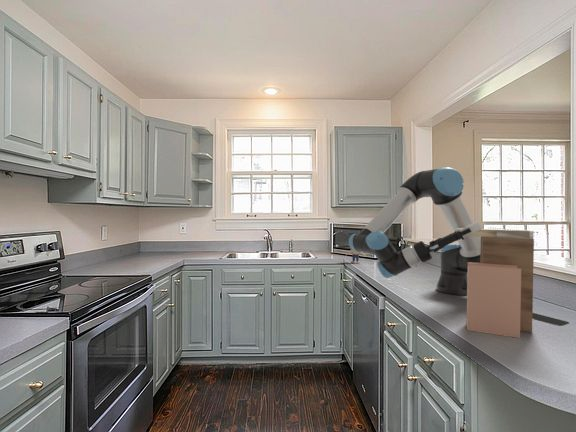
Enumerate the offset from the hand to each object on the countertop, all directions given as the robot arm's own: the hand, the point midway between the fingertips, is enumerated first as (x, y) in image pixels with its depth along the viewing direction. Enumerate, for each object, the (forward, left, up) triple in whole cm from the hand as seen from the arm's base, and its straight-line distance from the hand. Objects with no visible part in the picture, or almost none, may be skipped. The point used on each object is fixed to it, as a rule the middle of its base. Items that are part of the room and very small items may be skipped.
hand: (479, 225), depth 114 cm
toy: (-108, -73, -34) cm, 135 cm away
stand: (0, +8, -34) cm, 35 cm away
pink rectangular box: (+9, +3, -34) cm, 35 cm away
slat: (0, +3, -4) cm, 5 cm away
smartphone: (-15, +21, -35) cm, 43 cm away
